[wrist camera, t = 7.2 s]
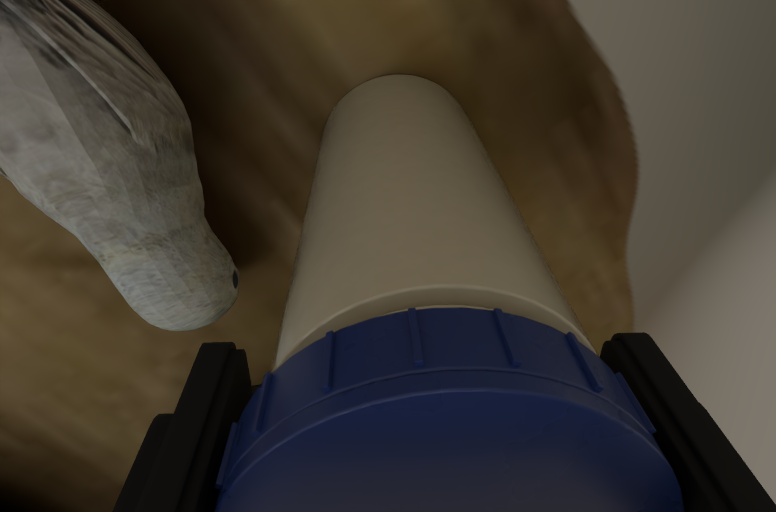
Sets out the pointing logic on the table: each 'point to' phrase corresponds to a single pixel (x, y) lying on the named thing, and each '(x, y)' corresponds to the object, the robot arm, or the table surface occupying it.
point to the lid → (445, 424)
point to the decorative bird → (110, 158)
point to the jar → (410, 221)
